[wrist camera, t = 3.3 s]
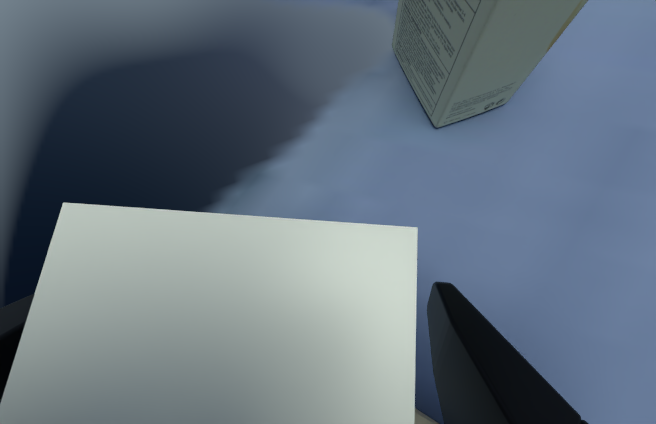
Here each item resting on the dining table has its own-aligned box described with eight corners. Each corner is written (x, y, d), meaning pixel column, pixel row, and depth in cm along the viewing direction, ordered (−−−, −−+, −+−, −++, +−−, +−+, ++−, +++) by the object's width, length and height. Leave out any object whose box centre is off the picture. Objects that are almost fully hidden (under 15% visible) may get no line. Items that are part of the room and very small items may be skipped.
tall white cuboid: (364, 372, 13) (410, 646, 3) (245, 358, 14) (-47, 554, 4) (370, 270, 14) (417, 227, 4) (259, 260, 15) (63, 202, 5)
